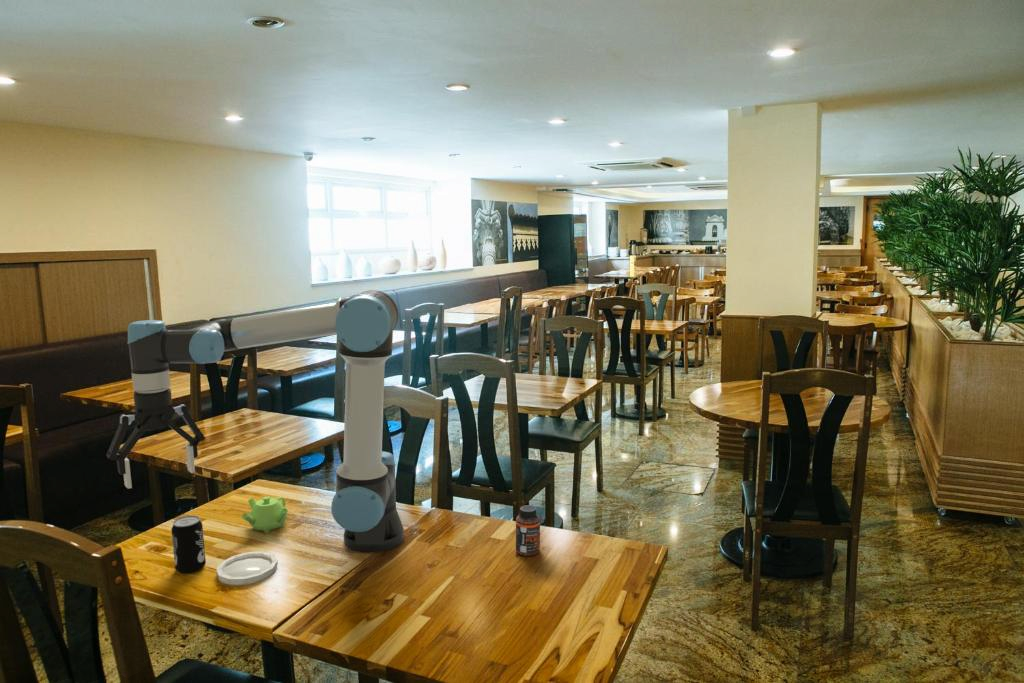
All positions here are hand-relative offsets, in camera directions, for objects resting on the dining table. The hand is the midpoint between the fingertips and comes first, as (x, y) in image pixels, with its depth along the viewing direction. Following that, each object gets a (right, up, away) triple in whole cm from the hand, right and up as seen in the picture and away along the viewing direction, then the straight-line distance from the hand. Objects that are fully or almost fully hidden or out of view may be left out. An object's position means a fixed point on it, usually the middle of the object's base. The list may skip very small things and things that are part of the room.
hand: (160, 479), depth 160 cm
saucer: (+19, -22, +3) cm, 29 cm away
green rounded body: (+15, -18, +25) cm, 35 cm away
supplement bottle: (+85, -20, +11) cm, 88 cm away
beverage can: (+5, -22, +4) cm, 23 cm away
